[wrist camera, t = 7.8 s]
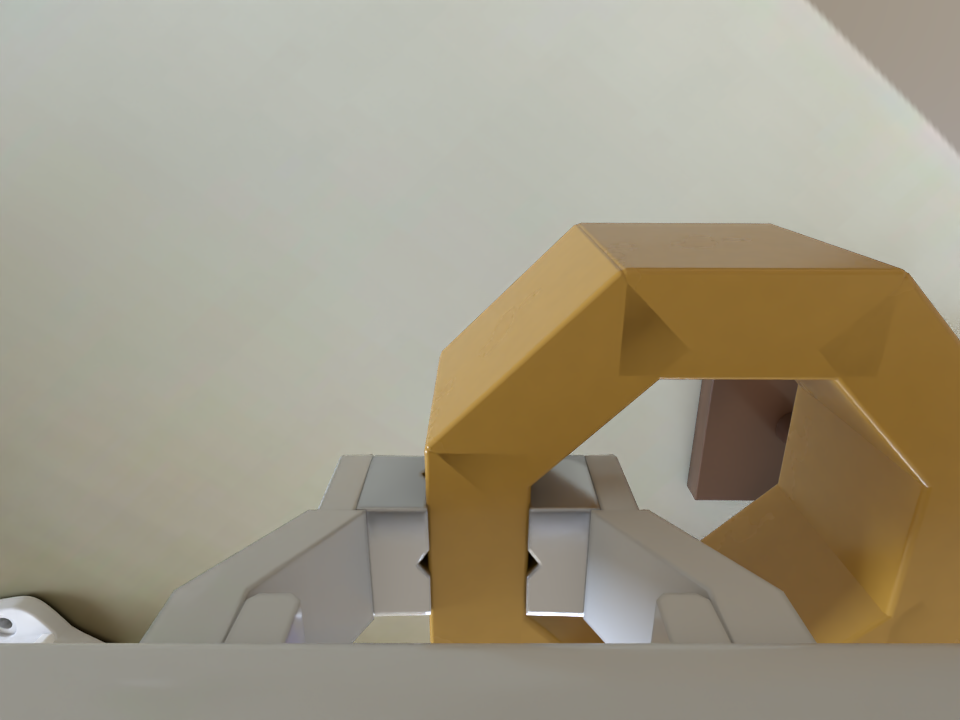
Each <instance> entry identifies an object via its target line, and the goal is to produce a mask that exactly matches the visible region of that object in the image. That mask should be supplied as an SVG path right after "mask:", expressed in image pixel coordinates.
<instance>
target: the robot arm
mask: <svg viewBox="0 0 960 720" xmlns="http://www.w3.org/2000/svg"><path fill="white" fill-rule="evenodd" d="M429 548H430V538H429V516H428V504H427V503H426V487H425V456H396V455H375V456H374V455H372V454H370V455H343V456H341V457H340V459H339V461H338V463H337V466H336V468H335V470H334V473H333V475H332V477H331V480H330V482H329V484H328V487H327V489H326V491H325V494H324V496H323V499H322V501H321V503H320V506H319V508H318V510H308V511H306V512H304V513H303V514H301V515H299V516H297V517H296V518H294V519H292V520H291V521H289V522H287V523H286V524H284V525H282V526H281V527H279V528H277V529H276V530H274V531H272V532H271V533H269V534H267V535H266V536H264V537H262V538H261V539H259V540H257V541H256V542H254V543H252V544H251V545H249V546H247V547H246V548H244V549H242V550H241V551H239V552H237V553H236V554H234V555H232V556H231V557H229V558H227V559H226V560H224V561H222V562H220V563H219V564H217V565H215V566H214V567H212V568H210V569H209V570H207V571H205V572H204V573H202V574H200V575H199V576H197V577H195V578H194V579H192V580H190V581H189V582H187V583H185V584H184V585H182V586H180V587H179V588H177V589H175V590H174V591H173V592H172V594H171V595H170V597H169V598H168V600H167V601H166V603H165V604H164V606H163V608H162V609H161V611H160V612H159V614H158V615H157V617H156V618H155V620H154V621H153V623H152V624H151V626H150V627H149V629H148V630H147V632H146V633H145V635H144V636H143V638H142V639H141V641H140V642H139V643H105V642H103V641H100V640H98V639H96V638H94V637H92V636H90V635H88V634H86V633H83V632H82V631H80V630H78V629H76V628H74V627H73V626H71V625H70V624H69V623H68V622H67V621H66V620H65V619H64V618H63V617H61V616H60V615H59V614H58V613H57V612H56V611H55V610H54V609H52V608H51V607H50V606H49V605H47V604H46V603H44V602H43V601H41V600H39V599H37V598H35V597H31V596H17V597H11V598H4V599H0V720H960V643H816V641H815V640H814V638H813V636H812V635H811V633H810V632H809V630H808V629H807V627H806V626H805V624H804V623H803V621H802V620H801V618H800V616H799V615H798V613H797V612H796V610H795V609H794V607H793V606H792V604H791V603H790V601H789V599H788V598H787V596H786V595H785V593H784V592H783V591H782V590H780V589H779V588H777V587H775V586H774V585H772V584H770V583H769V582H767V581H765V580H764V579H762V578H760V577H759V576H757V575H755V574H754V573H752V572H750V571H749V570H747V569H745V568H744V567H742V566H740V565H739V564H737V563H736V562H734V561H732V560H731V559H729V558H727V557H726V556H724V555H722V554H721V553H719V552H717V551H716V550H714V549H712V548H711V547H709V546H707V545H706V544H704V543H702V542H701V541H699V540H697V539H696V538H694V537H692V536H691V535H689V534H687V533H686V532H684V531H682V530H681V529H679V528H678V527H676V526H674V525H673V524H671V523H669V522H668V521H666V520H664V519H663V518H661V517H659V516H658V515H656V514H654V513H653V512H651V511H649V510H639V508H638V506H637V504H636V501H635V499H634V496H633V494H632V492H631V489H630V487H629V485H628V482H627V480H626V478H625V475H624V473H623V470H622V468H621V466H620V463H619V461H618V459H617V457H616V456H615V455H613V454H608V455H586V456H584V455H568V456H566V457H565V458H564V459H563V460H562V461H560V462H559V463H558V464H557V465H556V466H554V467H553V468H552V469H551V470H550V471H548V472H547V473H546V474H545V475H544V476H542V477H541V478H540V479H539V480H538V481H536V482H535V483H534V484H533V485H532V486H531V502H530V504H529V512H528V536H527V548H528V551H529V555H528V569H527V572H526V606H525V609H526V615H555V616H583V619H584V620H585V621H586V622H587V624H588V625H589V626H590V627H591V628H592V629H593V630H594V631H595V632H596V634H597V635H598V636H599V637H600V638H601V639H602V640H603V641H604V642H605V643H353V642H354V641H355V640H356V638H357V637H358V636H359V635H360V634H361V633H362V632H363V631H364V630H365V629H366V627H367V626H368V625H369V624H370V623H371V622H372V621H373V620H374V616H401V615H431V611H432V602H431V572H430V571H429V568H428V551H429Z"/></svg>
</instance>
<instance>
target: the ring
mask: <svg viewBox="0 0 960 720" xmlns="http://www.w3.org/2000/svg"><path fill="white" fill-rule="evenodd" d="M659 379H755V380H795V381H796V382H797V383H798V387H797V392H796V397H795V402H794V407H793V412H792V417H791V422H790V427H789V432H788V437H787V442H786V447H785V452H784V457H783V462H782V467H781V472H780V477H779V482H778V484H777V485H775V486H774V487H773V488H771V489H770V490H768V491H767V492H766V493H764V494H763V495H762V496H760V497H759V498H758V499H756V500H755V501H754V502H752V503H751V504H749V505H748V506H747V507H745V508H744V509H743V510H741V511H740V512H739V513H737V514H736V515H734V516H733V517H732V518H730V519H729V520H728V521H726V522H725V523H724V524H722V525H721V526H720V527H718V528H717V529H715V530H714V531H713V532H711V533H710V534H709V535H707V536H706V537H705V538H703V539H702V540H701V542H702V543H704V544H706V545H707V546H709V547H711V548H712V549H714V550H716V551H717V552H719V553H721V554H722V555H724V556H726V557H727V558H729V559H731V560H732V561H734V562H736V563H737V564H739V565H740V566H742V567H744V568H745V569H747V570H749V571H750V572H752V573H754V574H755V575H757V576H759V577H760V578H762V579H764V580H765V581H767V582H769V583H770V584H772V585H774V586H775V587H777V588H779V589H780V590H782V591H783V592H784V593H785V595H786V596H787V598H788V599H789V601H790V603H791V604H792V606H793V607H794V609H795V610H796V612H797V613H798V615H799V616H800V618H801V620H802V621H803V623H804V624H805V626H806V627H807V629H808V630H809V632H810V633H811V635H812V636H813V638H814V640H815V641H816V643H960V340H959V339H958V337H957V336H956V335H955V333H954V332H953V331H952V329H951V328H950V327H949V325H948V324H947V323H946V322H945V320H944V319H943V318H942V316H941V315H940V314H939V312H938V311H937V310H936V308H935V307H934V306H933V304H932V303H931V302H930V300H929V299H928V298H927V296H926V295H925V294H924V293H923V291H922V290H921V289H920V287H919V286H918V285H917V283H916V282H915V281H914V279H913V278H912V277H911V275H910V274H909V273H907V272H905V271H904V270H903V269H900V268H897V267H895V266H892V265H889V264H886V263H883V262H880V261H877V260H874V259H871V258H868V257H866V256H863V255H860V254H857V253H854V252H851V251H848V250H845V249H842V248H839V247H837V246H834V245H831V244H828V243H825V242H822V241H819V240H816V239H813V238H810V237H808V236H805V235H802V234H799V233H796V232H793V231H790V230H787V229H784V228H781V227H779V226H776V225H773V224H752V223H579V224H578V225H577V224H576V225H574V226H573V227H572V228H571V229H570V230H569V231H568V232H567V233H566V234H565V235H564V236H562V237H561V238H560V239H559V240H558V241H557V242H556V243H555V244H554V245H553V246H552V247H551V248H550V249H549V250H548V251H547V252H546V253H545V254H544V255H543V256H541V257H540V258H539V259H538V260H537V261H536V262H535V263H534V264H533V265H532V266H531V267H530V268H529V269H528V270H527V271H526V272H525V273H524V274H523V275H522V276H521V277H519V278H518V279H517V280H516V281H515V282H514V283H513V284H512V285H511V286H510V287H509V288H508V289H507V290H506V291H505V292H504V293H503V294H502V295H501V296H500V297H498V298H497V299H496V300H495V301H494V302H493V303H492V304H491V305H490V306H489V307H488V308H487V309H486V310H485V311H484V312H483V313H482V314H481V315H480V316H479V317H478V318H476V319H475V320H474V321H473V322H472V323H471V324H470V325H469V326H468V327H467V328H466V329H465V330H464V331H463V332H462V333H461V334H460V335H459V336H458V337H457V338H455V339H454V340H453V341H452V342H451V343H450V344H449V345H448V346H447V347H446V348H445V349H444V350H443V351H442V353H441V355H440V359H439V365H438V371H437V377H436V383H435V389H434V395H433V402H432V408H431V414H430V420H429V426H428V432H427V438H426V444H425V450H424V455H425V487H426V503H427V504H428V516H429V538H430V548H429V551H428V568H429V571H430V572H431V602H432V611H431V615H430V641H431V643H605V642H604V641H603V640H602V639H601V638H600V637H599V636H598V635H597V634H596V632H595V631H594V630H593V629H592V628H591V627H590V626H589V625H588V624H587V622H586V621H585V620H584V619H583V616H555V615H526V609H525V606H526V572H527V569H528V555H529V551H528V548H527V536H528V512H529V504H530V502H531V486H532V485H533V484H534V483H535V482H536V481H538V480H539V479H540V478H541V477H542V476H544V475H545V474H546V473H547V472H548V471H550V470H551V469H552V468H553V467H554V466H556V465H557V464H558V463H559V462H560V461H562V460H563V459H564V458H565V457H566V456H568V455H569V454H570V453H571V452H572V451H574V450H575V449H576V448H577V447H578V446H580V445H581V444H582V443H583V442H584V441H586V440H587V439H588V438H589V437H590V436H592V435H593V434H594V433H595V432H596V431H598V430H599V429H600V428H601V427H602V426H604V425H605V424H606V423H607V422H608V421H610V420H611V419H612V418H613V417H614V416H616V415H617V414H618V413H619V412H620V411H622V410H623V409H624V408H625V407H626V406H628V405H629V404H630V403H631V402H632V401H634V400H635V399H636V398H637V397H638V396H640V395H641V394H642V393H643V392H644V391H646V390H647V389H648V388H649V387H650V386H652V385H653V384H654V383H655V382H656V381H658V380H659Z"/></svg>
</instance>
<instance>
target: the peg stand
mask: <svg viewBox="0 0 960 720" xmlns="http://www.w3.org/2000/svg"><path fill="white" fill-rule="evenodd" d="M797 387H798V383H797V382H796V381H795V380H755V379H702V385H701V392H700V399H699V406H698V413H697V420H696V427H695V434H694V441H693V448H692V455H691V461H690V468H689V475H688V482H687V486H688V488H689V490H690V492H691V493H692V495H693V497H694V499H695V500H754V501H755V500H756V499H758V498H759V497H760V496H762V495H763V494H764V493H766V492H767V491H768V490H770V489H771V488H773V487H774V486H775V485H777V484H778V482H779V477H780V472H781V467H782V462H783V457H784V452H785V447H786V442H787V437H788V432H789V427H790V422H791V417H792V412H793V407H794V402H795V397H796V392H797Z"/></svg>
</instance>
